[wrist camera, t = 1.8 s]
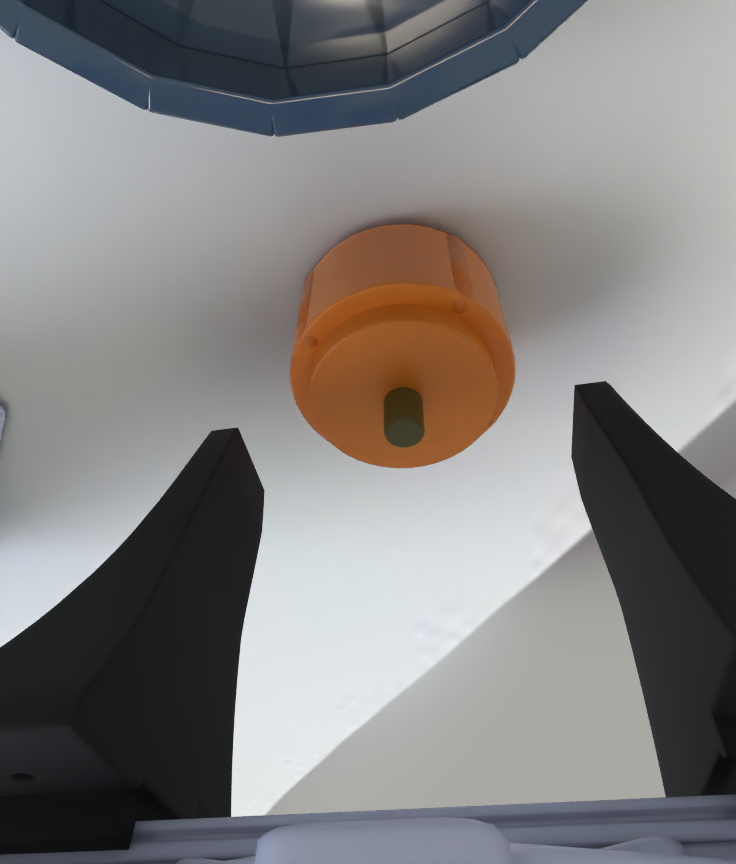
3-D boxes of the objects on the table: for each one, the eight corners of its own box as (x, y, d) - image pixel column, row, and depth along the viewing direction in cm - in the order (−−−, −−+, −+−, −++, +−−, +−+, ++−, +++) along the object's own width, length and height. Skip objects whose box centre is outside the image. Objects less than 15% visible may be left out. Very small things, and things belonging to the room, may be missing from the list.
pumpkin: (429, 411, 21) (440, 543, 17) (267, 338, 19) (238, 468, 15) (541, 272, 17) (589, 396, 13) (358, 169, 16) (351, 277, 12)
